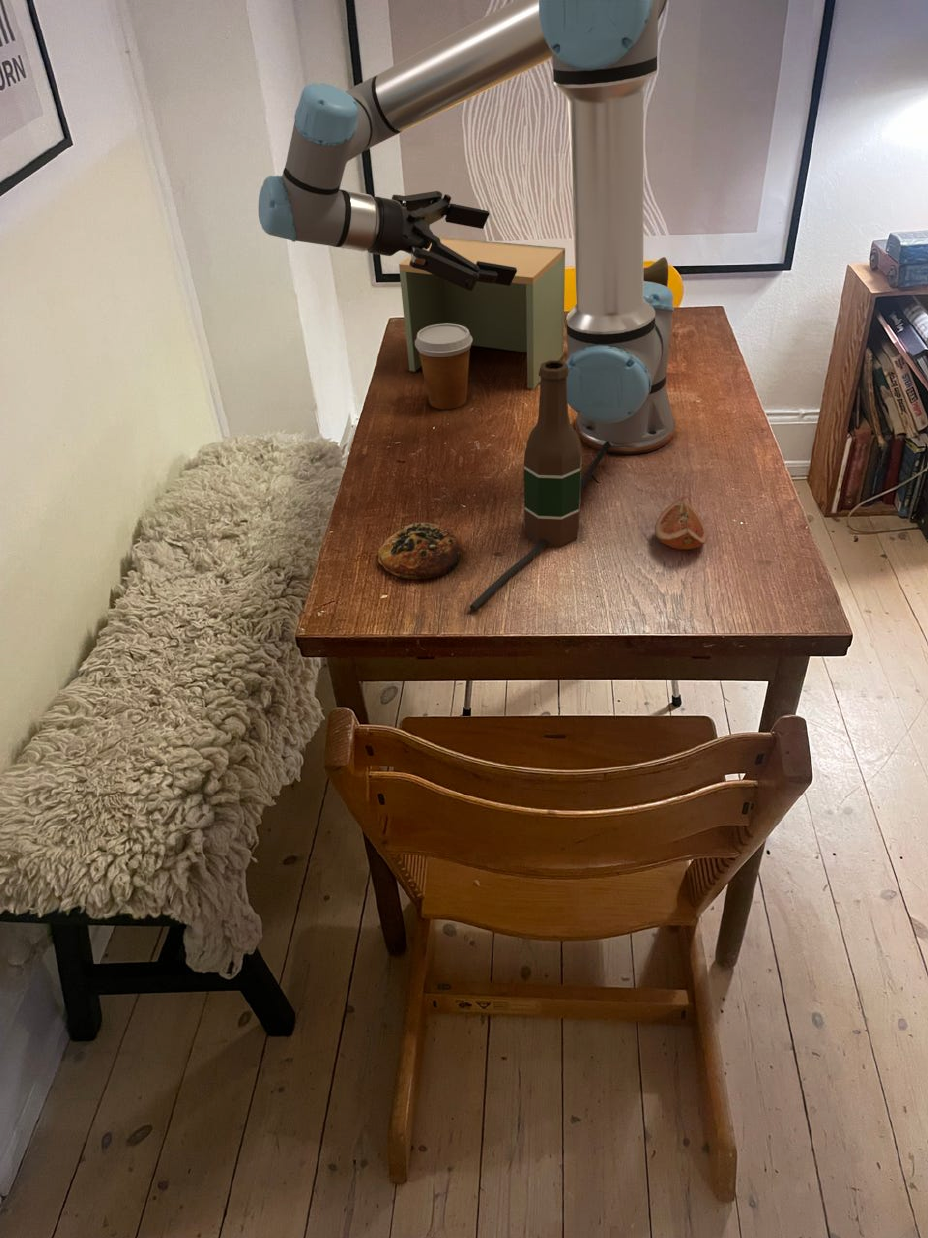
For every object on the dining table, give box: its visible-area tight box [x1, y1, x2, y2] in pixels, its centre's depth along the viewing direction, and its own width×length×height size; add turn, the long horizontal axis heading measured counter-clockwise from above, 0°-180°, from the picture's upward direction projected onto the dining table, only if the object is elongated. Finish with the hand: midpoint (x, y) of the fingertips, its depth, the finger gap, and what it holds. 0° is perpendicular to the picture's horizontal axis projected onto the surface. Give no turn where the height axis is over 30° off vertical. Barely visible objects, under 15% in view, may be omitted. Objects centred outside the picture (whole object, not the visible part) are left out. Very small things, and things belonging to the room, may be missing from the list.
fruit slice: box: [654, 496, 708, 550], centre depth 118 cm, size 8×7×5 cm
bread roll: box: [377, 522, 462, 580], centre depth 120 cm, size 11×11×5 cm
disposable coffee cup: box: [415, 323, 473, 410], centre depth 152 cm, size 10×10×12 cm
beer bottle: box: [523, 360, 583, 548], centre depth 116 cm, size 8×8×24 cm
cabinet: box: [398, 236, 566, 390], centre depth 162 cm, size 15×24×19 cm, turn 65°
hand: (499, 247), depth 139 cm, fingers open, 13 cm apart
